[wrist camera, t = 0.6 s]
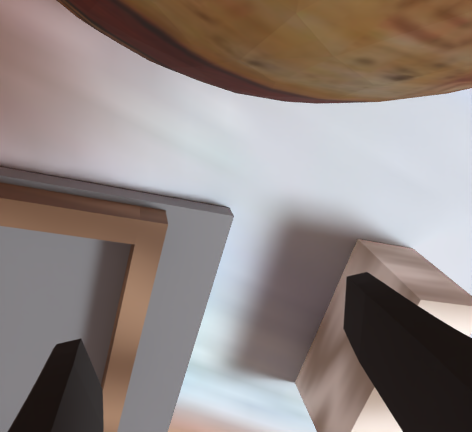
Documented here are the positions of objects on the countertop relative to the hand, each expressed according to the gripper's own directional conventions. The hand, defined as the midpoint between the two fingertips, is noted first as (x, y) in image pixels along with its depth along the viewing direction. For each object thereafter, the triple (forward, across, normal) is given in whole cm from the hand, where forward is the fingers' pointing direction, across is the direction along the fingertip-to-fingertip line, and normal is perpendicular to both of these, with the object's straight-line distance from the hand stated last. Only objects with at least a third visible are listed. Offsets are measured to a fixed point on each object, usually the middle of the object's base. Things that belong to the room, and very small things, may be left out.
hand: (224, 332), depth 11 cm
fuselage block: (+9, -9, +12) cm, 17 cm away
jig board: (+9, +9, +7) cm, 15 cm away
